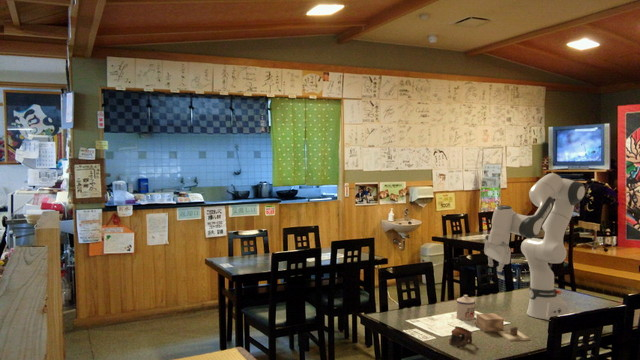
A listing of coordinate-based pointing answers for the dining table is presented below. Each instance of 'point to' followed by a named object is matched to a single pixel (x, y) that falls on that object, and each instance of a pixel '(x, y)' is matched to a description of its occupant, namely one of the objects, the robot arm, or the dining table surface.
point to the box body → (489, 322)
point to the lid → (513, 334)
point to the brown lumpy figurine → (458, 339)
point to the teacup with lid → (465, 308)
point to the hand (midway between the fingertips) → (494, 268)
